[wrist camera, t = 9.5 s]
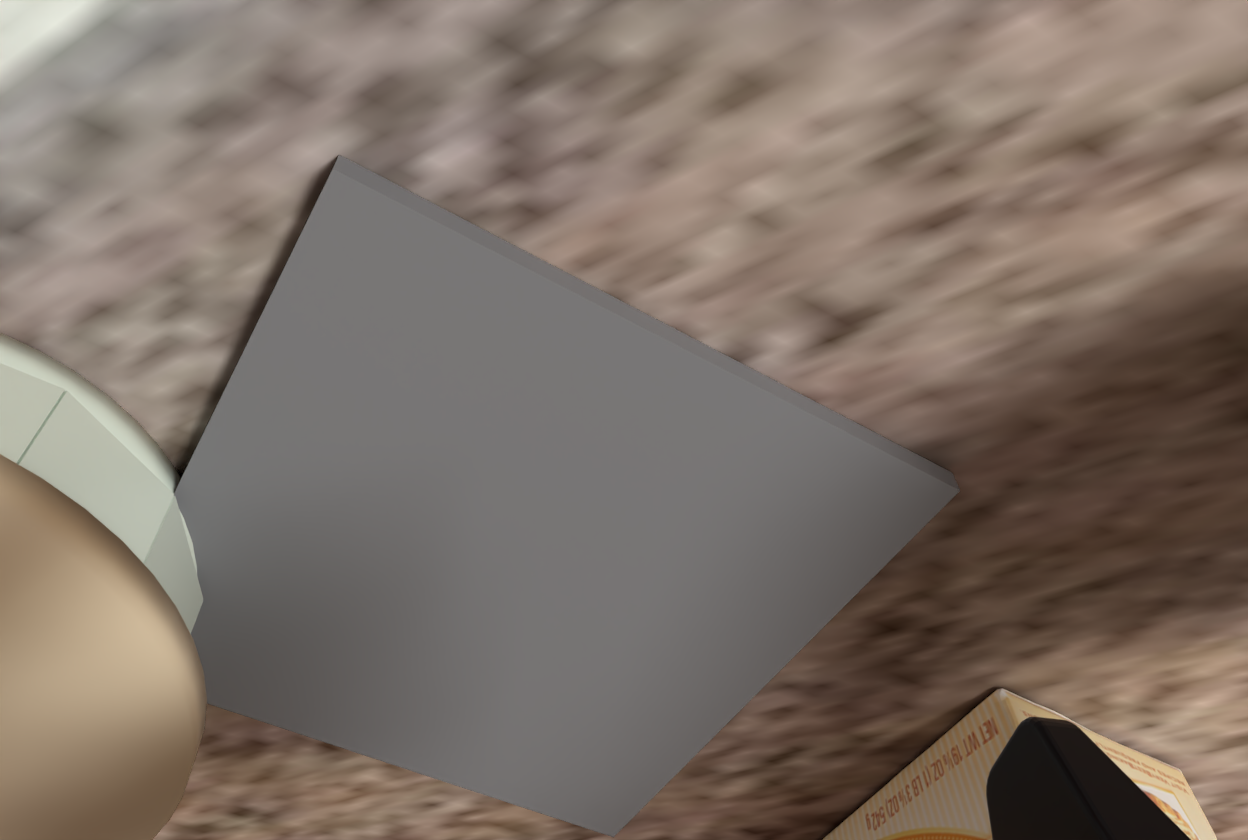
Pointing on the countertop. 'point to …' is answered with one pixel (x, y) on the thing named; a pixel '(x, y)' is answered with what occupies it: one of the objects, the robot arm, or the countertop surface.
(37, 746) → the lid
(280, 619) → the plate
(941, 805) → the coffeecake box
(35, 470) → the bowl
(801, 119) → the countertop surface
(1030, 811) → the robot arm
